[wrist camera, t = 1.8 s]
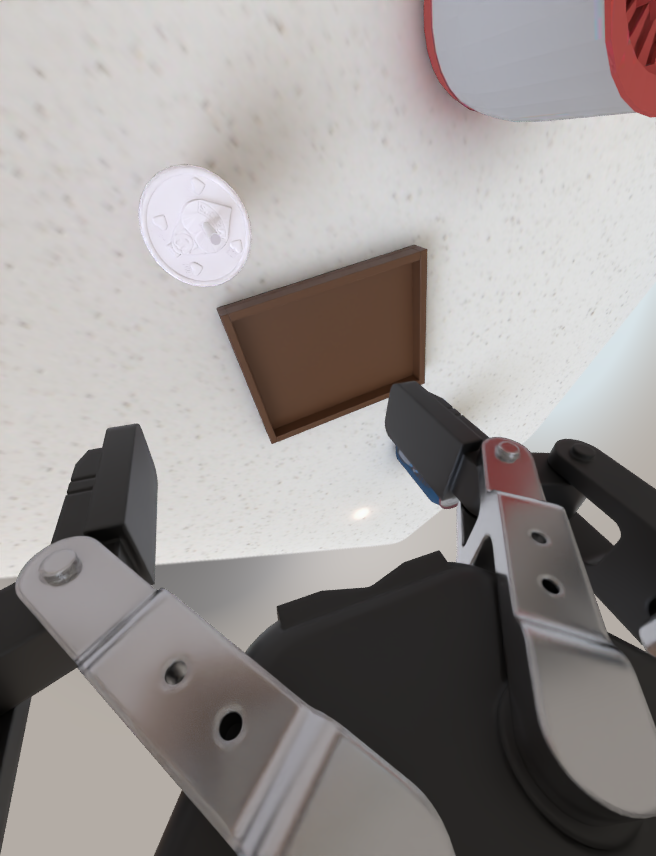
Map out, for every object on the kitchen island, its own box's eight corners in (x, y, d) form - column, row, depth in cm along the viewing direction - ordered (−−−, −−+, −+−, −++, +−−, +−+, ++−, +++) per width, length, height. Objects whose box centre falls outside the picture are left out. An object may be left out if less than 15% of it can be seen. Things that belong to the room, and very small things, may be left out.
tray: (267, 432, 43) (271, 444, 42) (216, 308, 32) (219, 316, 31) (414, 374, 47) (424, 383, 45) (414, 244, 36) (427, 249, 34)
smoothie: (245, 228, 29) (291, 266, 19) (185, 272, 30) (199, 332, 19) (192, 142, 25) (215, 132, 15) (123, 195, 25) (99, 219, 15)
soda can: (427, 449, 58) (475, 500, 49) (391, 463, 57) (434, 518, 48) (430, 418, 54) (483, 468, 45) (391, 432, 52) (438, 488, 44)
